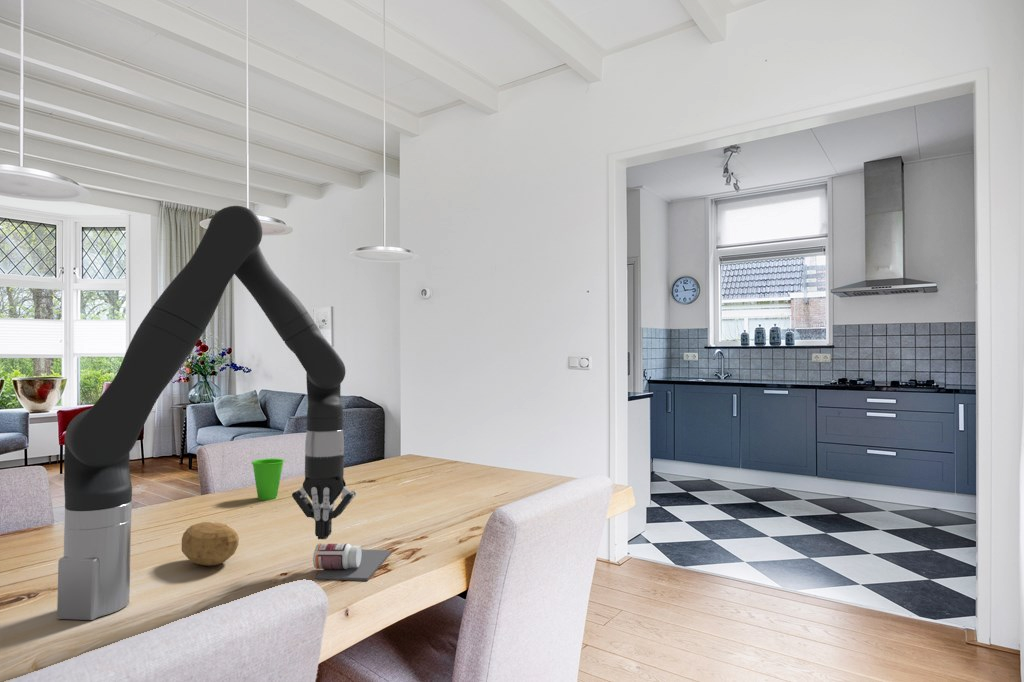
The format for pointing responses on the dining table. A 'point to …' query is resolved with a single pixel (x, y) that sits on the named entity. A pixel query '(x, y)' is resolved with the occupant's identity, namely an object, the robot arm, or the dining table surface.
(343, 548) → the pill bottle
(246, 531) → the dining table surface
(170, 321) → the robot arm
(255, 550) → the dining table surface
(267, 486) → the cup
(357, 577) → the mat
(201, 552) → the potato
